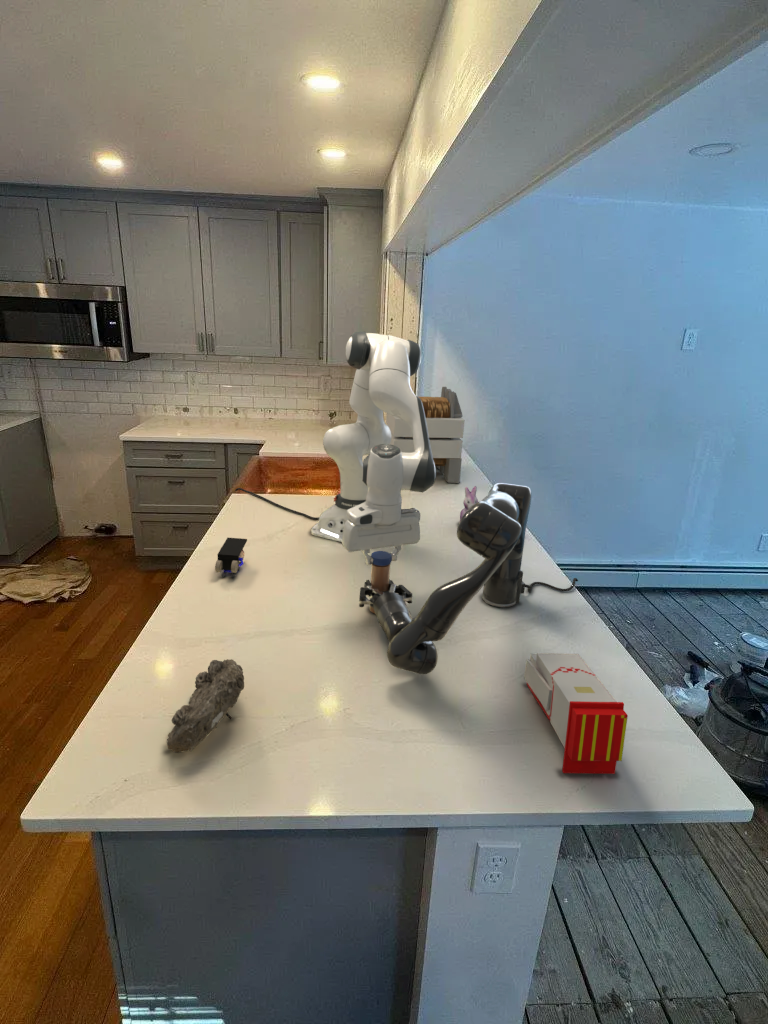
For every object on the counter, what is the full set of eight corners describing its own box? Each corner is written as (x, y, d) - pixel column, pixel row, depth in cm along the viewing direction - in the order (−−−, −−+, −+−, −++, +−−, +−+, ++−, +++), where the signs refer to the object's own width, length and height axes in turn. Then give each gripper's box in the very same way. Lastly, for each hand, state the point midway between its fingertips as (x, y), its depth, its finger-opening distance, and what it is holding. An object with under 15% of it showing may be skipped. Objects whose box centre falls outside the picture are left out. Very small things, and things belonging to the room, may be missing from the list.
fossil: (192, 660, 117) (244, 628, 112) (224, 691, 120) (276, 661, 115) (142, 746, 98) (202, 712, 93) (182, 779, 101) (242, 748, 96)
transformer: (382, 463, 289) (386, 382, 275) (445, 464, 293) (451, 384, 279) (390, 482, 257) (394, 392, 243) (460, 483, 261) (468, 394, 247)
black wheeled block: (238, 584, 162) (249, 557, 175) (236, 562, 158) (247, 536, 172) (215, 584, 161) (227, 556, 175) (212, 561, 158) (225, 535, 171)
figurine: (467, 532, 204) (471, 492, 198) (451, 522, 212) (455, 484, 207) (488, 528, 208) (493, 489, 203) (472, 519, 216) (476, 482, 211)
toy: (573, 635, 123) (638, 710, 94) (567, 691, 126) (628, 782, 97) (518, 633, 123) (565, 709, 93) (513, 690, 125) (557, 781, 96)
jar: (390, 612, 148) (394, 559, 143) (374, 615, 146) (377, 562, 141) (382, 603, 152) (385, 552, 147) (366, 607, 150) (368, 555, 145)
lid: (381, 555, 148) (381, 549, 147) (395, 562, 145) (396, 555, 144) (366, 560, 144) (366, 554, 144) (381, 567, 141) (381, 561, 140)
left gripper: (415, 503, 147) (411, 552, 151) (340, 511, 139) (339, 562, 143) (426, 511, 141) (422, 561, 146) (349, 519, 133) (348, 572, 138)
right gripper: (423, 598, 134) (404, 567, 150) (364, 603, 131) (350, 570, 146) (421, 626, 137) (402, 593, 152) (363, 631, 133) (350, 596, 149)
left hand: (380, 562), depth 145 cm, fingers closed on lid, 5 cm apart
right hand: (377, 582), depth 149 cm, fingers closed on jar, 5 cm apart
